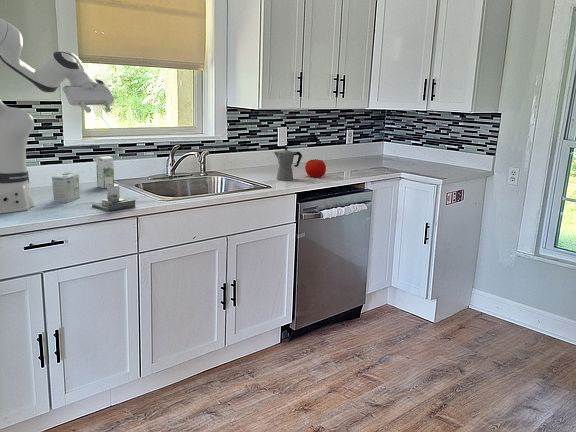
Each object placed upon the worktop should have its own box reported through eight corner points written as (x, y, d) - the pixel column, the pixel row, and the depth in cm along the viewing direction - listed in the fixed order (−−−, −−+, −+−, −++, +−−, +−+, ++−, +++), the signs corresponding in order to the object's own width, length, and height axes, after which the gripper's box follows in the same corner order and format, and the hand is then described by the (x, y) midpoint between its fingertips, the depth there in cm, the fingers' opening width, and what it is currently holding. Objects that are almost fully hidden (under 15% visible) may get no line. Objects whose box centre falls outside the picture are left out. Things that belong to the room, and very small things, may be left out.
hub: (112, 207, 213) (111, 186, 211) (102, 204, 217) (101, 184, 215) (125, 204, 218) (124, 184, 216) (115, 201, 222) (114, 182, 220)
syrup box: (107, 185, 258) (106, 155, 255) (114, 187, 255) (113, 157, 251) (97, 186, 254) (95, 156, 250) (104, 188, 250) (102, 158, 247)
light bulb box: (65, 196, 232) (64, 172, 230) (80, 197, 232) (79, 173, 229) (52, 201, 222) (51, 176, 219) (68, 202, 221) (66, 177, 219)
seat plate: (110, 211, 210) (110, 204, 209) (92, 206, 217) (91, 199, 216) (135, 206, 219) (135, 199, 219) (117, 202, 226) (116, 195, 225)
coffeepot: (272, 180, 288) (273, 147, 284) (273, 177, 297) (274, 145, 293) (300, 181, 287) (302, 148, 283) (301, 178, 296) (302, 146, 292)
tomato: (324, 175, 309) (325, 157, 307) (326, 179, 298) (327, 160, 296) (304, 174, 309) (304, 157, 306) (305, 178, 298) (306, 160, 295)
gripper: (63, 80, 214) (79, 106, 211) (107, 81, 230) (122, 105, 227) (58, 91, 217) (73, 117, 214) (101, 91, 233) (116, 115, 230)
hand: (99, 111), depth 221 cm, fingers open, 8 cm apart
